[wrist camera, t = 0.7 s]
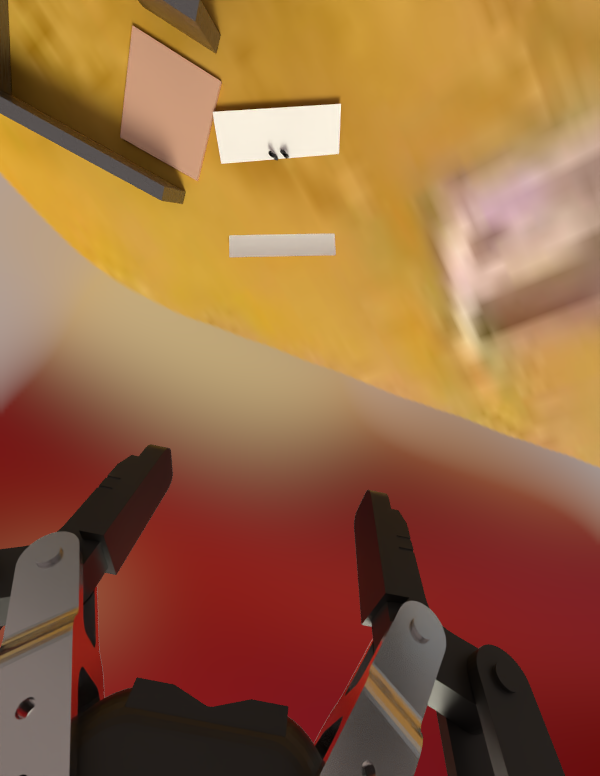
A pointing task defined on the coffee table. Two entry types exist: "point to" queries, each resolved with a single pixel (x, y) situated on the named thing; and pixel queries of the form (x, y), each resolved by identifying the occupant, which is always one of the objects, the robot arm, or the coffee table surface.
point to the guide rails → (174, 5)
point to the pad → (167, 104)
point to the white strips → (277, 141)
